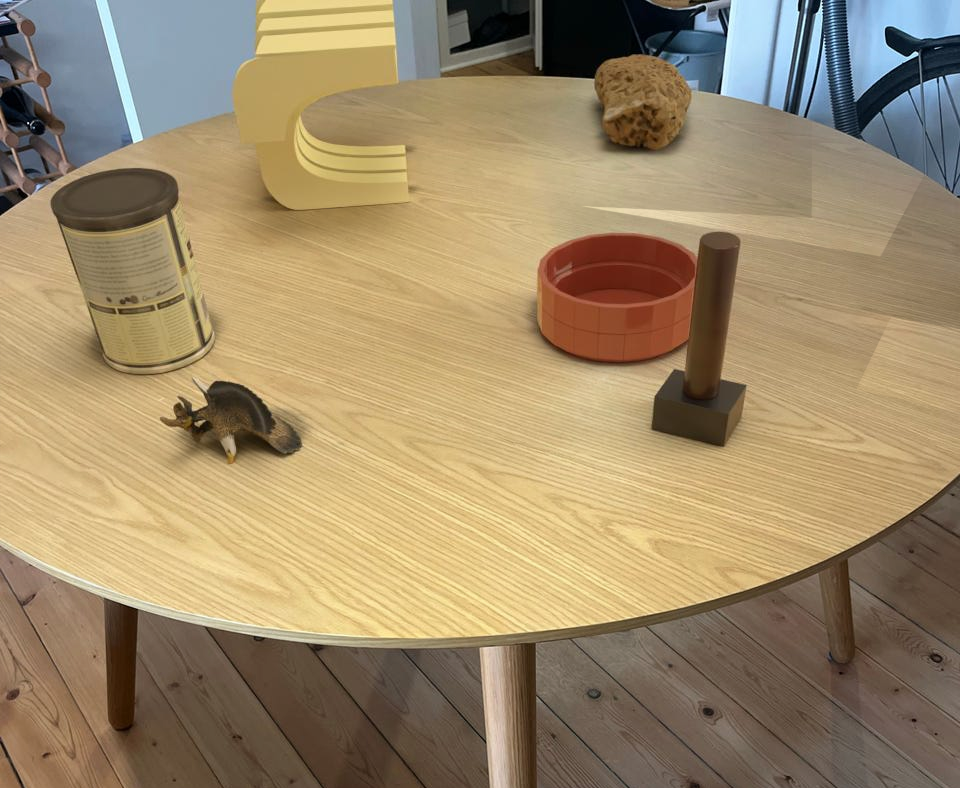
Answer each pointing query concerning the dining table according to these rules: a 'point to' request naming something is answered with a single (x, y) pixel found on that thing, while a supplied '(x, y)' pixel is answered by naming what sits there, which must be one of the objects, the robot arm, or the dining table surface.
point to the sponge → (642, 100)
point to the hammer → (705, 353)
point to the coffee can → (135, 268)
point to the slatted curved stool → (306, 78)
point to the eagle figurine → (233, 417)
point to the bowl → (616, 296)
